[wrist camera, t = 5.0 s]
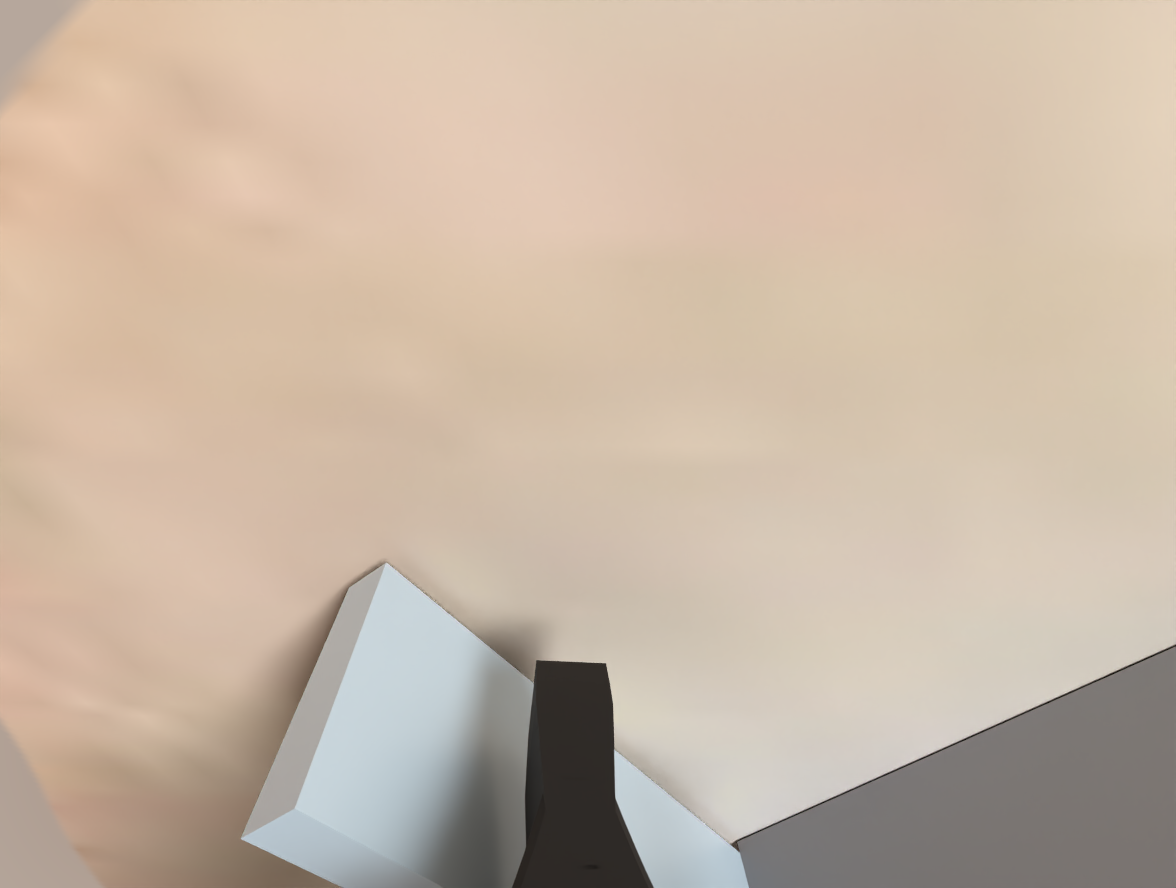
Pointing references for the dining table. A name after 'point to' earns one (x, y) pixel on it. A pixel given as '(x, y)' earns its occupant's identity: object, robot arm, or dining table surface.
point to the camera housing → (1007, 804)
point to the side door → (435, 762)
